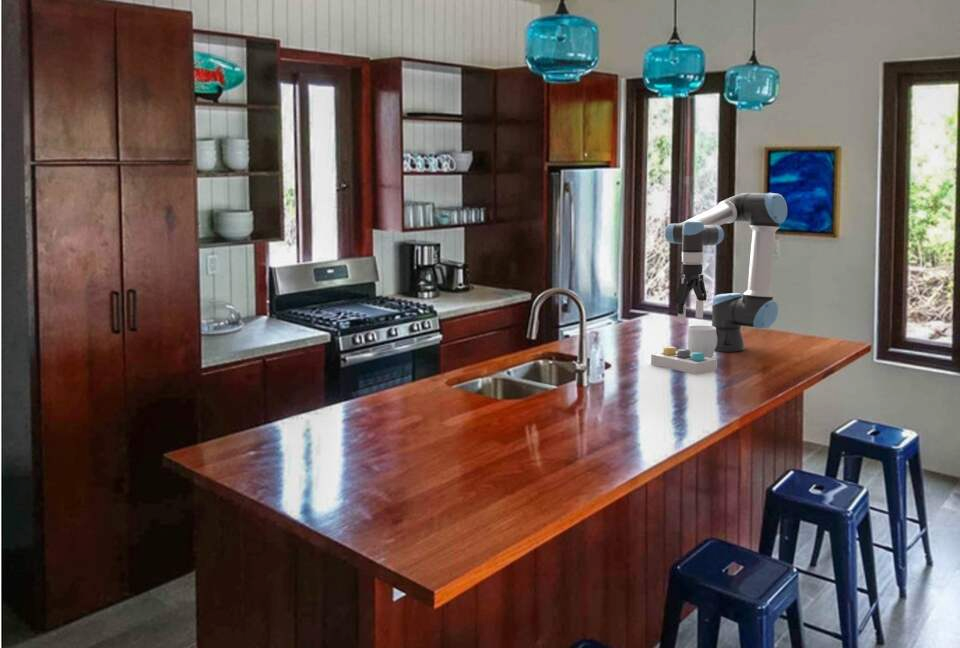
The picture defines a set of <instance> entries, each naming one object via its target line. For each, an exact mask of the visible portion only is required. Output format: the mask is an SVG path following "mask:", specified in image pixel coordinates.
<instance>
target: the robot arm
mask: <svg viewBox="0 0 960 648" xmlns="http://www.w3.org/2000/svg"><path fill="white" fill-rule="evenodd" d="M787 216H788V206H787V202H786V200H785V197H783V195H782V194H779V193H774V192H743V193H739V194H736V195H734V196H731V197H729V198H725V199H724V200H722V201H719V203H717V205H716V206H714V207H713V208H712V207H711V209H708V210H706V211H703V212H702V213H700V214H698V215H695V216H694V217H691V218H689V219H687V220H685V221H682V222H680V223H677V222H676V223H669V224H668V225H667V226H666V227H665V229H664V238H665V240H666V241H667V242H668V243H670V244H675V245H679V244H680V245H682V246H681V248H682V249H681V263H682V264H681V271H680V273H681V274H683V275H684V277H680V278H679V285H678V288H677V292H676V296H675V299H674V304H675V305H676V306H677V323H681V324H686V320H687V319H686V317H687V316H686V314H687V313H686V311H687V305H686V301H687V300H688V297H689V294H690V291H692V290H693V293H694V295H695V297H696V300H695V318H698V319H703V318H704V302H705V301H706V302H707V297H708V295H707V291H706V290H707V289H706V286H705V282H704V274H703V261H704V257H703V256H704V247H706V246H715V245H719V244H720V243H722V242H723V240H724V238H725V232H724V229H723V228H722V227H721V225H724V224H732V223H734V222H748V223H749V224H748V225H749V227H750V229H751V230H752V234H751V235H752V237H751V244H750V245H751V247H750V257H749V268H748V278H747V279H748V280H747V290H746V291H744V292H743V293H740V292H731V293H720V294H716V295H714V297H713V298H712V305H711V308H712V310H711V315H712V316H711V326H713V327H716V335H717V346H716V348H715V350H714V352H715V351H716V352H724V353H725V352H727V353H729V352H731V353H732V352H740V351H744V350H745V342H744V338H743V335H742V332H741V331H742V329H741V328H742V327H747V328H748V327H749V328H753V329H756V330H758V329H761V330H762V329H765V330H767V329H768V328H770V327H772V326H773V324H774V323H775V321H776V319H777V317H778V313H779V306H778V304H777V302H776V301H774V295H773V294H772V292H771V291H770V290H771V281H772V280H771V278H772V269H773V268H772V267H773V257H774V249H775V237H776V232H777V231H778V230H779V229H780V226H781V224H782V223H784V222H785V221H786V219H787Z"/></svg>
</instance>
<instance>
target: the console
mask: <svg viewBox="0 0 960 648" xmlns="http://www.w3.org/2000/svg"><path fill="white" fill-rule="evenodd" d="M650 355H651V356H650V365H651V366H657V367H661V368H665V369H670V370H675V371H679V372H683V373H688V374H692V375H699V374H702V373H708V372H713V371H717V368H718V359H717V358H712V357H711V358H708V357H705V361H702V362H696V361H692V360H691V358H692V354H690V358H687V359H682V358H677V350H676V355H673V356H668V355H663V351H661V352H656V353H652V354H650Z"/></svg>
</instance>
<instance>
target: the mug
mask: <svg viewBox="0 0 960 648" xmlns="http://www.w3.org/2000/svg"><path fill="white" fill-rule="evenodd" d="M686 339H687V340H686V341H687V349H688V350H690V354H692V352H703V353H705V357H708V358H712V357H713V355H714V353H715V348H716V346H717V335H716V327H713V326H712V325H704V324H702V325H701V324H696V325H695V324H694V325H690V326H687V337H686Z"/></svg>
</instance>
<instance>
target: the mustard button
mask: <svg viewBox="0 0 960 648" xmlns="http://www.w3.org/2000/svg"><path fill="white" fill-rule="evenodd" d="M676 351H677V347H676V346H671V345H668V346H663V351H662V352H663V355H668V356H673V355H676Z"/></svg>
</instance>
